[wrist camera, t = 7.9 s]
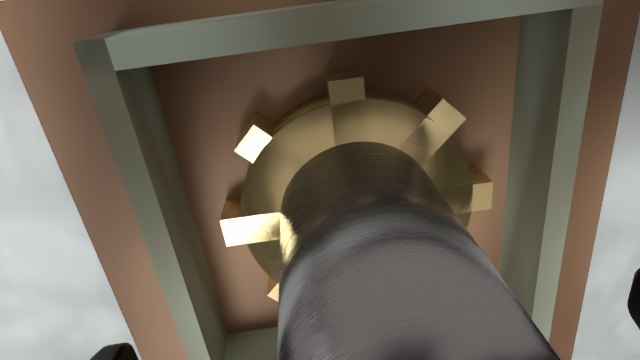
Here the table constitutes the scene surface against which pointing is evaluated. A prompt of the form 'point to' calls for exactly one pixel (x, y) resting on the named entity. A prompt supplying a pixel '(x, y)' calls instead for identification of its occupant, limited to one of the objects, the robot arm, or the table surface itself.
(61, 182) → the table surface
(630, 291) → the robot arm
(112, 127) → the gear board
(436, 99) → the brass gear
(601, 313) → the table surface
